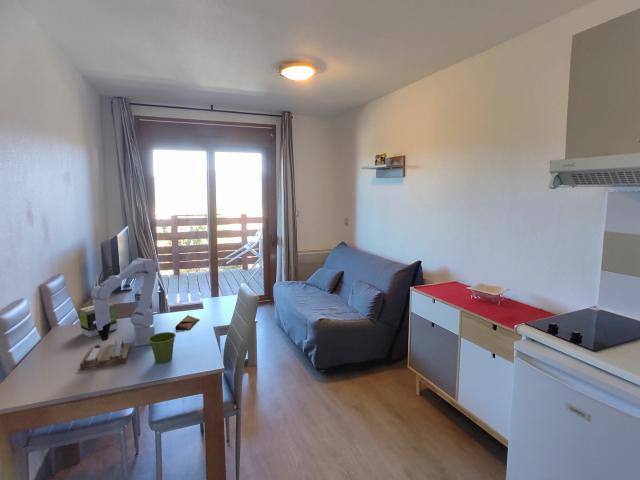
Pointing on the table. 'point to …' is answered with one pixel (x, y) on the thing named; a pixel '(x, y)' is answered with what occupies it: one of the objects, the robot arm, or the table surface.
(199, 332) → the table surface
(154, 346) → the plant pot
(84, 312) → the tea box
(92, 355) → the latch
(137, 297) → the gum box
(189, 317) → the sunglasses case
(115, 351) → the bar
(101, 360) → the wooden wall rack
